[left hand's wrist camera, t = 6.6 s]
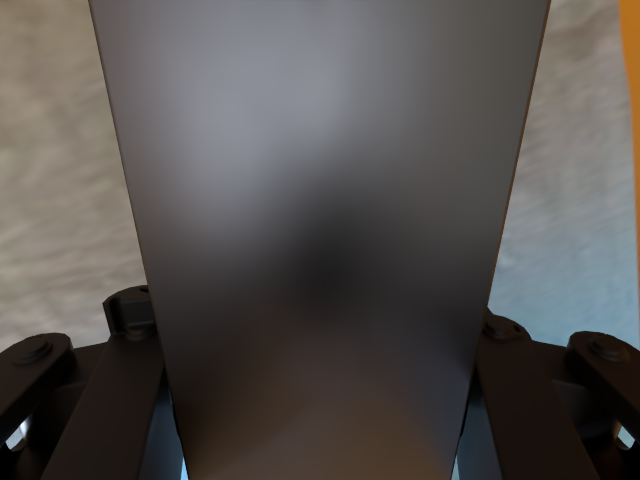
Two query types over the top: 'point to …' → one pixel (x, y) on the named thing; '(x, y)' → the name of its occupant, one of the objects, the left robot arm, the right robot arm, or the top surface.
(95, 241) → the top surface
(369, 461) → the bar
